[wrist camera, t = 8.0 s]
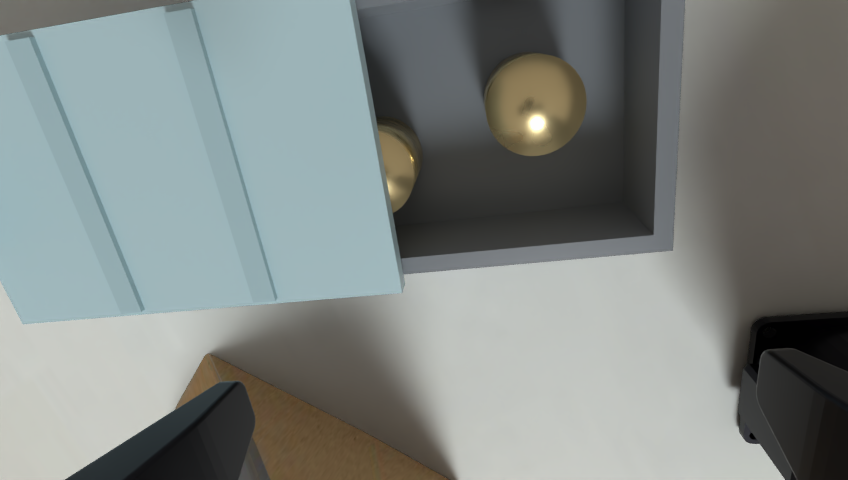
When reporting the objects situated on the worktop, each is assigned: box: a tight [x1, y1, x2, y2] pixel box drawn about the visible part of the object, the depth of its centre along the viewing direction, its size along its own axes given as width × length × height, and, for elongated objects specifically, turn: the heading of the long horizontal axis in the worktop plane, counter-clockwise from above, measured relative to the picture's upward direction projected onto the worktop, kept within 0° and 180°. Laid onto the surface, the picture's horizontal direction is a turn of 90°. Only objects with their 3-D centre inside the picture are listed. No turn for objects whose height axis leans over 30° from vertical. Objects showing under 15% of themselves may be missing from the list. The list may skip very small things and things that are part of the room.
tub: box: [355, 0, 685, 274], centre depth 17 cm, size 14×9×4 cm, turn 98°
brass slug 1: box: [376, 116, 423, 213], centre depth 17 cm, size 3×3×3 cm
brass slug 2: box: [484, 52, 587, 156], centre depth 16 cm, size 3×3×3 cm
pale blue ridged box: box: [0, 0, 405, 324], centre depth 14 cm, size 16×9×5 cm, turn 98°
